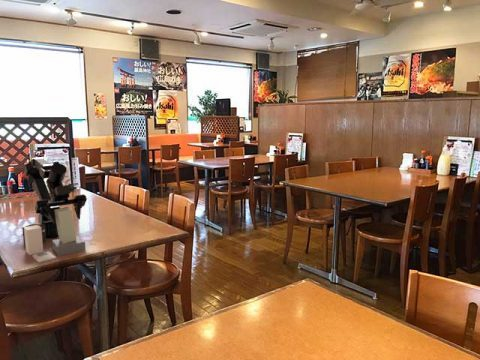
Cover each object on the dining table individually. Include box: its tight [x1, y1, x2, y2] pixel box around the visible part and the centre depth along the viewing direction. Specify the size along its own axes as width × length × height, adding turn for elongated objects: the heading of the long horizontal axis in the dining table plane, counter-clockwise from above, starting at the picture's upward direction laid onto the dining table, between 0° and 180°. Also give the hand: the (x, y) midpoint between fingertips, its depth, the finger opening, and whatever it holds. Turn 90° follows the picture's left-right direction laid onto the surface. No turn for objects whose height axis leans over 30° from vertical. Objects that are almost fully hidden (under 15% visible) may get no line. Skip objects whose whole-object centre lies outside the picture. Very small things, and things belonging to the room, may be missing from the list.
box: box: [22, 223, 47, 245], centre depth 161 cm, size 6×6×7 cm
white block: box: [23, 225, 44, 256], centre depth 150 cm, size 5×5×10 cm
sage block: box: [54, 206, 77, 244], centre depth 151 cm, size 5×5×13 cm
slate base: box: [51, 235, 86, 256], centre depth 153 cm, size 10×10×4 cm
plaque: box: [31, 251, 56, 264], centre depth 144 cm, size 8×6×1 cm
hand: (67, 221), depth 150 cm, fingers open, 9 cm apart
